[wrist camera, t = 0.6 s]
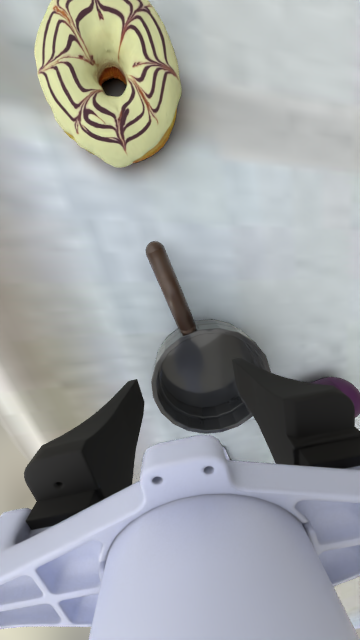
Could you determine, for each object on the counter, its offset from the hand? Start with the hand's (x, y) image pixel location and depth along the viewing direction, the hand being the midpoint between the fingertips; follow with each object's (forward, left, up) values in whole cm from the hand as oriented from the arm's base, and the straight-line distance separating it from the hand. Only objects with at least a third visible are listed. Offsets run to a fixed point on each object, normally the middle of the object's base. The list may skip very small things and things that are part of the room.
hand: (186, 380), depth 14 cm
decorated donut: (+23, -3, -10) cm, 25 cm away
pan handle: (+6, -1, -7) cm, 10 cm away
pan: (-5, -1, -10) cm, 11 cm away
